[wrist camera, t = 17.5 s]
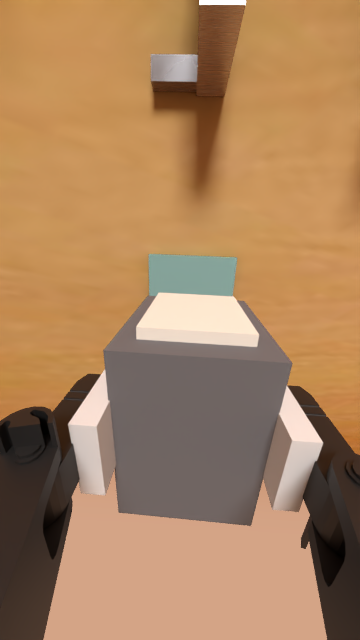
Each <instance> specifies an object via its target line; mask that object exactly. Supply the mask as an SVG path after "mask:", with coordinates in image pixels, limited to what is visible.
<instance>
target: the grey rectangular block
mask: <svg viewBox="0 0 360 640" xmlns="http://www.w3.org/2000/svg"><path fill="white" fill-rule="evenodd" d="M103 351H104V361H105V372H106V383H107V393H108V401H110V408H111V419H112V429H113V439H114V450H115V460H116V466H115V478H116V489H117V500H118V510H119V513H130V514H139V515H150V516H160V517H169V518H180V519H189V520H199V521H208V522H219V523H228V524H239V525H248V526H250V525H251V523H252V519H253V516H254V511H255V508H256V504H257V500H258V496H259V492H260V488H261V484H262V480H263V475H264V471H265V467H266V463H267V459H268V455H269V451H270V447H271V443H272V439H273V435H274V431H275V427H276V423H277V418H278V414H279V413H280V410H281V406H282V402H283V398H284V394H285V390H286V386H287V383H288V379H289V375H290V371H291V367H292V362H291V361H290V359H289V358H288V357H287V356H286V354H285V353H284V352H283V350H282V349H281V348H280V347H279V345H278V344H277V343H276V341H275V340H274V339H273V338H272V336H271V335H270V334H269V332H268V331H267V330H266V329H265V327H264V326H263V325H262V323H261V322H260V321H259V320H258V318H257V317H256V316H255V314H254V313H253V312H252V311H251V309H250V308H249V307H248V305H247V304H246V303H245V302H244V301H237V300H236V299H235V297H233V296H214V295H196V294H178V293H158V295H157V296H147V297H146V299H145V300H144V301H143V302H142V304H141V305H140V306H139V307H138V309H137V310H136V311H135V312H134V313H133V315H132V316H131V317H130V318H129V320H128V321H127V322H126V323H125V325H124V326H123V327H122V328H121V329H120V331H119V332H118V333H117V334H116V336H115V337H114V338H113V339H112V341H111V342H110V343H109V344H108V345H107V347H106V348H105V349H104V350H103Z"/></svg>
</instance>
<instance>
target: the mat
mask: <svg viewBox="0 0 360 640" xmlns="http://www.w3.org/2000/svg"><path fill="white" fill-rule="evenodd" d="M236 264H237V258H236V257H213V256H188V255H163V254H149V296H157V295H158V293H178V294H196V295H214V296H233V288H234V280H235V272H236Z"/></svg>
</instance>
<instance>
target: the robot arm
mask: <svg viewBox="0 0 360 640" xmlns="http://www.w3.org/2000/svg"><path fill="white" fill-rule="evenodd" d="M115 466H116V460H115V450H114V439H113V429H112V419H111V408H110V401H108V393H107V383H106V372H105V370H104V371H103V373H102V374H101V375H100V374H87V375H86V376H84V377H83V378H81V379H80V380H78V381H77V382H76V384H75V385H74V386H73V387H72V389H71V390H70V392H68V393H67V395H66V396H65V397H64V400H62V401H61V402H60V403H59V405H58V406H57V407H56V408H55V410H54V411H53V412H52V411H51V410H50V409H48V408H45V407H30V408H25V409H22V410H19V411H17V412H15V413H12V414H10V415H9V416H7V417H6V418H4V419H3V420H1V421H0V640H43V638H44V633H45V629H46V625H47V620H48V615H49V611H50V606H51V602H52V598H53V593H54V588H55V584H56V580H57V575H58V571H59V566H60V562H61V558H62V553H63V549H64V544H65V540H66V535H67V531H68V526H69V522H70V517H71V512H72V498H71V496H72V494H73V492H74V490H75V488H76V486H77V483H78V482H79V486H80V491H81V493H85V494H96V495H106V492H107V489H108V486H109V483H110V480H111V477H112V474H113V472H114V469H115ZM263 479H264V483H265V486H266V489H267V493H268V496H269V500H270V503H271V507H272V509H273V510H284V511H295V512H299V509H300V507H301V504H302V501H303V499H304V501H305V504H306V506H307V508H308V511H309V513H310V517H309V519H308V522H307V525H306V527H305V530H304V532H303V535H302V537H301V548H304V549H306V547H307V544H308V542H310V548H311V553H312V558H313V564H314V569H315V575H316V580H317V586H318V591H319V597H320V602H321V608H322V613H323V618H324V624H325V629H326V634H327V640H360V455H358V454H355V453H354V451H353V450H352V449H351V447H350V446H349V445H348V443H347V442H346V441H345V439H344V438H343V437H342V435H341V434H340V433H339V431H338V430H337V429H336V427H335V426H334V425H333V423H332V422H331V421H330V419H329V418H328V417H326V414H325V413H324V411H323V410H322V409H321V408H319V405H318V403H317V402H316V401H315V399H314V398H313V397H312V395H310V394H309V393H308V392H306V391H305V390H304V389H303V388H301V387H300V386H286V390H285V394H284V398H283V402H282V406H281V410H280V413H279V414H278V418H277V423H276V427H275V431H274V435H273V439H272V443H271V447H270V451H269V455H268V459H267V463H266V467H265V471H264V475H263Z"/></svg>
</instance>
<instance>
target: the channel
mask: <svg viewBox="0 0 360 640" xmlns="http://www.w3.org/2000/svg"><path fill="white" fill-rule="evenodd" d="M245 5H246V0H200V9H199V38H198V55H179V54H151V83H152V87H153V91H166V92H197V96H224V95H225V91H226V87H227V83H228V78H229V74H230V70H231V65H232V61H233V57H234V52H235V48H236V44H237V40H238V35H239V31H240V27H241V22H242V18H243V14H244V9H245Z"/></svg>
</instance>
